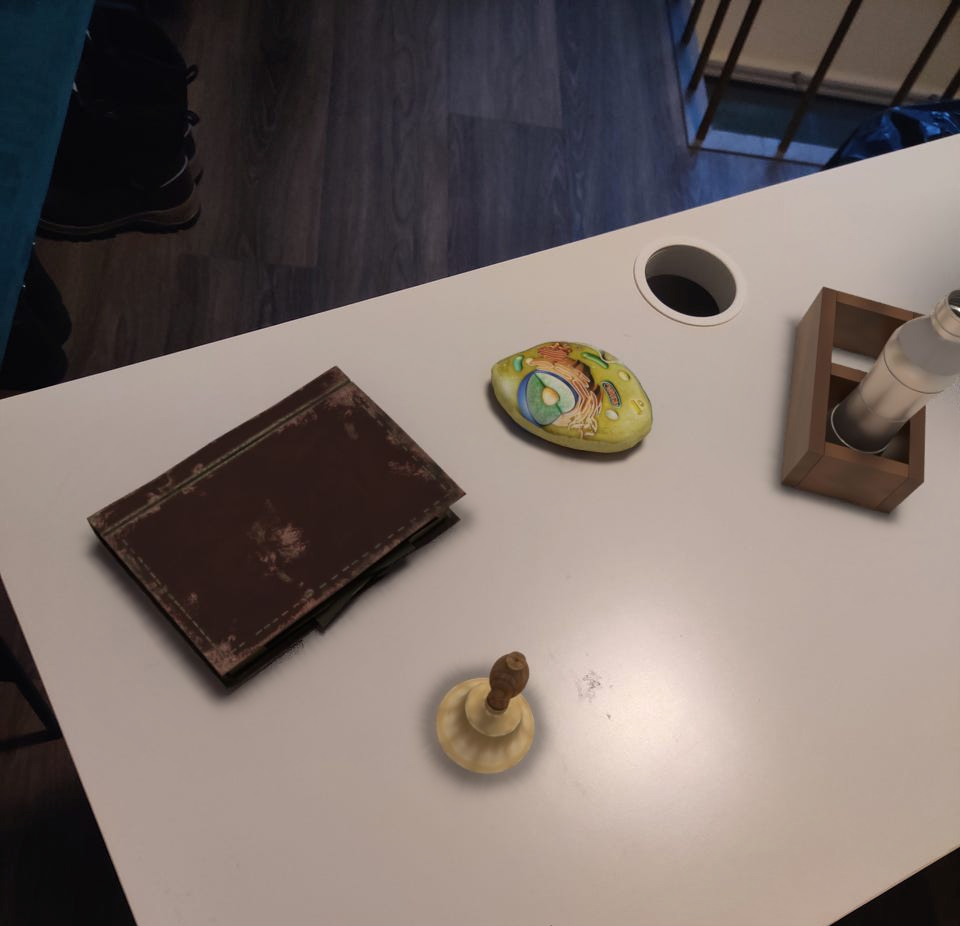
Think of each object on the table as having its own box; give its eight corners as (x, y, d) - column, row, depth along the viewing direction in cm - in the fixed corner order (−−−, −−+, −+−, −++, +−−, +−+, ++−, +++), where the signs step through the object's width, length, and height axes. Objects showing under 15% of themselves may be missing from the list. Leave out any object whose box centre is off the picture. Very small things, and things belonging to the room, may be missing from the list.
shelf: (893, 356, 90) (927, 315, 84) (886, 516, 82) (924, 482, 76) (795, 329, 90) (823, 286, 84) (778, 486, 81) (808, 450, 76)
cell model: (639, 473, 77) (503, 386, 72) (595, 490, 84) (469, 412, 79) (679, 373, 79) (550, 282, 74) (633, 398, 86) (512, 316, 81)
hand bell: (544, 767, 68) (594, 707, 53) (443, 784, 66) (466, 728, 52) (523, 671, 71) (564, 590, 56) (425, 686, 69) (442, 605, 55)
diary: (98, 540, 70) (79, 509, 66) (332, 393, 79) (331, 356, 74) (236, 702, 67) (226, 681, 62) (466, 528, 75) (473, 498, 71)
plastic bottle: (836, 417, 86) (965, 262, 67) (880, 467, 84) (1025, 322, 65) (791, 442, 84) (910, 289, 65) (835, 494, 82) (970, 352, 64)
